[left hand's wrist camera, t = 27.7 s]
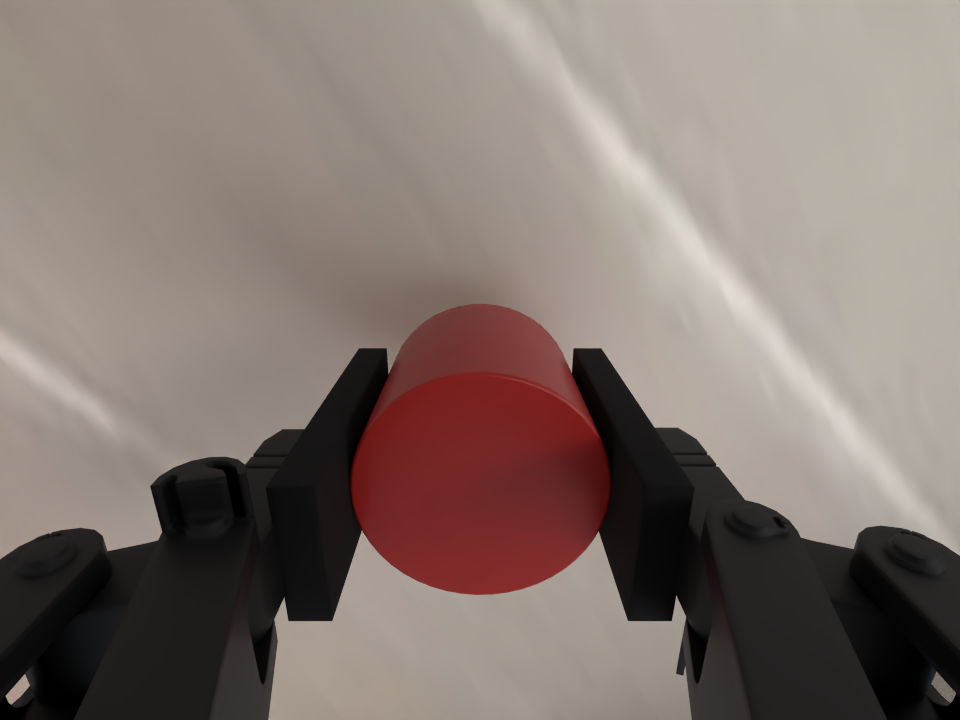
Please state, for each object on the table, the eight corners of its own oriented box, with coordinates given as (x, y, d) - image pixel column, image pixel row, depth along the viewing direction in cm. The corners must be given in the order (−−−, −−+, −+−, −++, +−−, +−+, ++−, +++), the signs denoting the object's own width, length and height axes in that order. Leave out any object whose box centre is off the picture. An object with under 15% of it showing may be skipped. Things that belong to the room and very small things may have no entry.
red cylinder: (476, 496, 16) (474, 633, 11) (353, 386, 15) (294, 489, 10) (606, 394, 15) (665, 499, 10) (485, 264, 13) (488, 315, 9)
